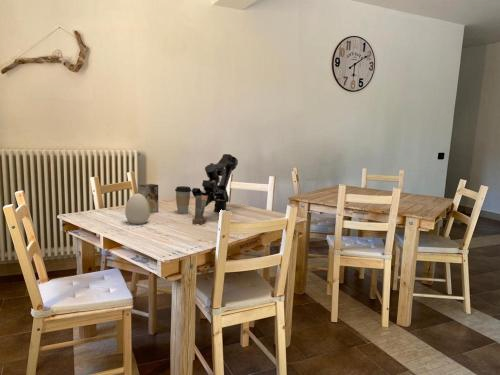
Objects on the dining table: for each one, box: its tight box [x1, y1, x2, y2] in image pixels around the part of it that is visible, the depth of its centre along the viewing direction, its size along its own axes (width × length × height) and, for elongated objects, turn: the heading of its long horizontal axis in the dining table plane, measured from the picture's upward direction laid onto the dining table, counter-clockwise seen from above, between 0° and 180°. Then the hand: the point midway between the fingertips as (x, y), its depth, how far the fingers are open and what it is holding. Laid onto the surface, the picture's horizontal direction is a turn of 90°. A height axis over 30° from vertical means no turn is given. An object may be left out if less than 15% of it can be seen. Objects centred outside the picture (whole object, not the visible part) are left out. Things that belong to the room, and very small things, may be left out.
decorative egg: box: [124, 193, 151, 225], centre depth 194 cm, size 12×12×15 cm
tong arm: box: [201, 195, 208, 218], centre depth 201 cm, size 1×3×12 cm, turn 74°
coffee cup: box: [174, 186, 192, 215], centre depth 221 cm, size 9×9×15 cm
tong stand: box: [192, 196, 208, 226], centre depth 198 cm, size 7×5×15 cm
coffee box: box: [138, 183, 159, 214], centre depth 218 cm, size 9×6×16 cm
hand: (204, 206), depth 204 cm, fingers closed
